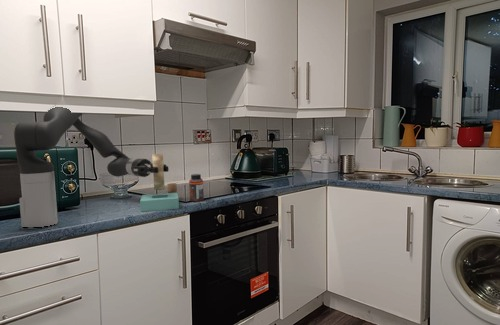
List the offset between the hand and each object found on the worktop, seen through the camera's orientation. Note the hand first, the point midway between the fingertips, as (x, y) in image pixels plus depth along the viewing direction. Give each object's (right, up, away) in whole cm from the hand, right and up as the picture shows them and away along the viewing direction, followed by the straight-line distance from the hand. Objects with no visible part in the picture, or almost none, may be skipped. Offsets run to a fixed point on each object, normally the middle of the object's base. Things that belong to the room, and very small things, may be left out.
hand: (162, 169), depth 130 cm
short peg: (0, -14, +17) cm, 21 cm away
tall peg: (-2, -8, +3) cm, 8 cm away
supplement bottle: (+11, -14, +13) cm, 22 cm away
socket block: (-2, -15, +3) cm, 15 cm away
